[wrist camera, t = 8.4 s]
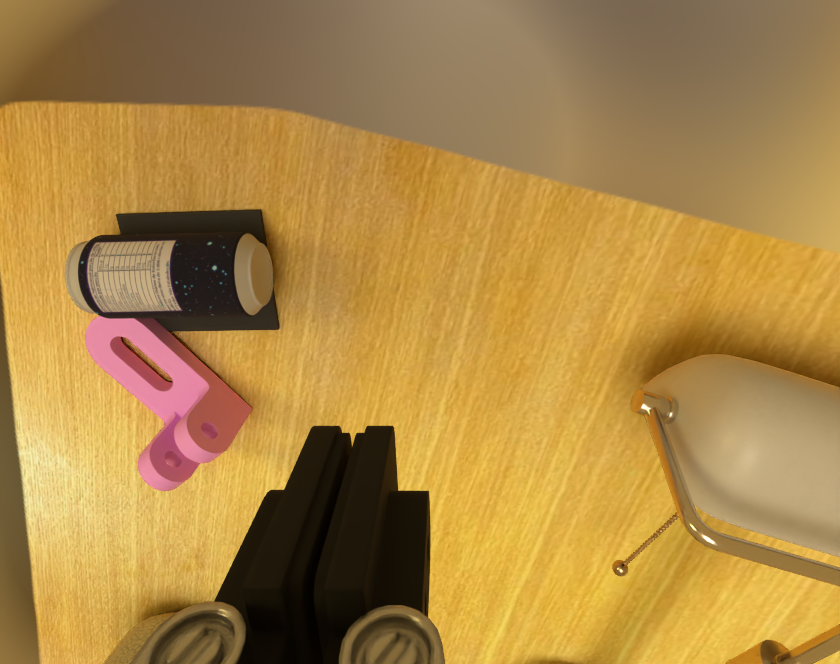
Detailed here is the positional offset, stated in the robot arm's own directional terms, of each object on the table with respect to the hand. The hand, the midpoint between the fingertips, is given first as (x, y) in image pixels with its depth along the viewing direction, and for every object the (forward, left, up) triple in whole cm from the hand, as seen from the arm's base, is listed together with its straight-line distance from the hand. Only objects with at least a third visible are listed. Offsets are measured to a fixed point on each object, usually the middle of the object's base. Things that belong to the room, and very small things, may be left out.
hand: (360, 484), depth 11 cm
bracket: (+11, -21, -27) cm, 36 cm away
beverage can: (+2, -10, -24) cm, 26 cm away
